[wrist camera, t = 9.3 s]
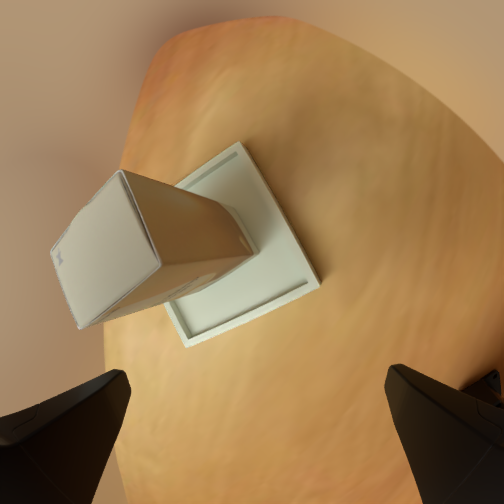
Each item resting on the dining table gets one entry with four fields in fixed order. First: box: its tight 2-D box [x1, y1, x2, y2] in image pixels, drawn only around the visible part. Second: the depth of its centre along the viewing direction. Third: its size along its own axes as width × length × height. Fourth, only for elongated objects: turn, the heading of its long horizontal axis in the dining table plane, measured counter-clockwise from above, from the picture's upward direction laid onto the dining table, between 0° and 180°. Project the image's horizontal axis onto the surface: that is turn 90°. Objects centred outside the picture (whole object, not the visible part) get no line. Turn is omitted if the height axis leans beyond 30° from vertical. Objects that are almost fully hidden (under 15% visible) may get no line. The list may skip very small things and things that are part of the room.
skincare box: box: [50, 169, 259, 330], centre depth 15 cm, size 6×4×12 cm
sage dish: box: [163, 141, 322, 348], centre depth 21 cm, size 12×12×2 cm
